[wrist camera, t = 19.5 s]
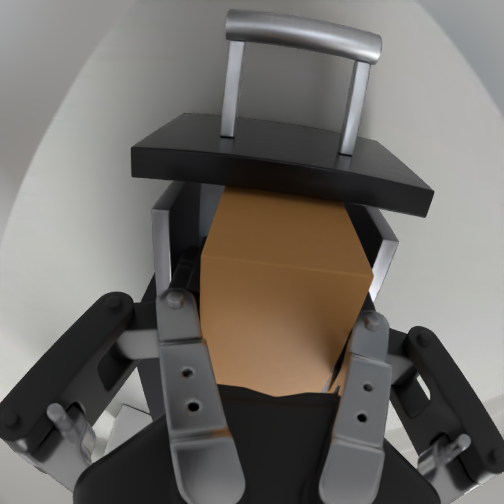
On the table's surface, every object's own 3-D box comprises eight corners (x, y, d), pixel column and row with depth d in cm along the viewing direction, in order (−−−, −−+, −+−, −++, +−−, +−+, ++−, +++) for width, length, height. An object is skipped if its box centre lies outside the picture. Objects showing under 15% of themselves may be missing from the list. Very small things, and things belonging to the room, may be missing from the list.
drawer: (191, 22, 14) (138, -2, 7) (394, 54, 14) (468, 57, 8) (180, 293, 24) (154, 375, 18) (326, 311, 25) (339, 395, 18)
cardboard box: (226, 179, 13) (200, 255, 8) (339, 195, 13) (375, 276, 8) (217, 302, 16) (199, 392, 12) (307, 312, 16) (315, 403, 12)
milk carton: (157, 435, 42) (134, 542, 27) (115, 418, 41) (84, 525, 25) (171, 422, 39) (146, 544, 23) (123, 403, 37) (87, 526, 21)
